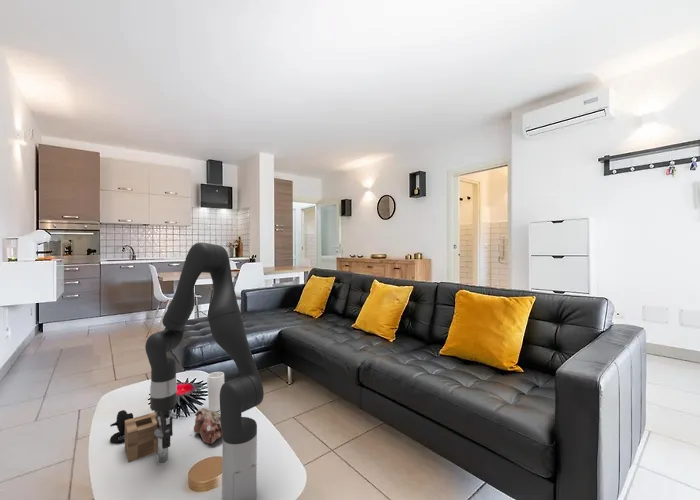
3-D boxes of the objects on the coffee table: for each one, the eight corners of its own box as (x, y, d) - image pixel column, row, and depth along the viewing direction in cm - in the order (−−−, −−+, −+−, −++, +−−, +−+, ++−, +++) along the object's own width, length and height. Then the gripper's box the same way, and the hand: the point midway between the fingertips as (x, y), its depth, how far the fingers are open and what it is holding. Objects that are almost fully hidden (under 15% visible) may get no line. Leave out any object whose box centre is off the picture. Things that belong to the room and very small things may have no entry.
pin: (173, 461, 107) (173, 430, 106) (155, 468, 103) (155, 436, 103) (169, 454, 110) (170, 424, 110) (152, 460, 107) (153, 429, 107)
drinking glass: (203, 411, 138) (203, 376, 138) (214, 404, 145) (214, 370, 145) (216, 414, 136) (217, 378, 136) (227, 406, 143) (227, 372, 143)
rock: (201, 398, 130) (236, 395, 128) (206, 425, 131) (241, 422, 129) (175, 422, 115) (214, 418, 113) (181, 451, 116) (220, 449, 114)
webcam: (137, 438, 119) (138, 410, 119) (113, 447, 114) (113, 418, 114) (131, 430, 124) (131, 403, 124) (107, 438, 119) (107, 411, 119)
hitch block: (162, 450, 112) (163, 423, 112) (127, 462, 106) (127, 433, 106) (157, 437, 120) (157, 411, 120) (124, 447, 114) (124, 420, 113)
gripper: (181, 396, 103) (181, 447, 104) (172, 381, 114) (171, 427, 115) (154, 403, 99) (154, 456, 99) (146, 387, 110) (146, 435, 110)
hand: (163, 441), depth 107 cm, fingers open, 8 cm apart
